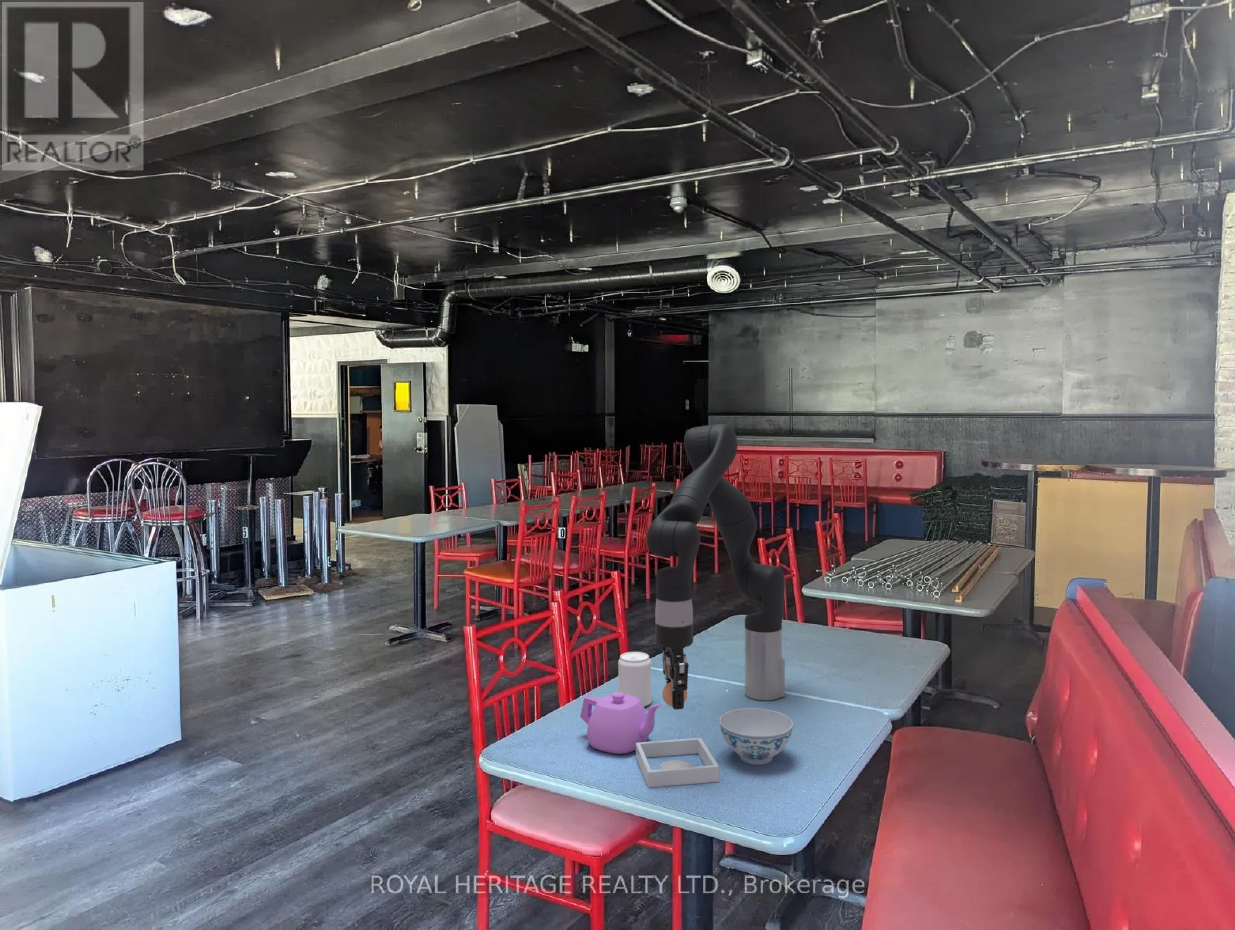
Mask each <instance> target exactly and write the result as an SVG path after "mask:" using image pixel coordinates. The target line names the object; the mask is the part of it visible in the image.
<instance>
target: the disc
mask: <svg viewBox="0 0 1235 930" xmlns="http://www.w3.org/2000/svg"><path fill="white" fill-rule="evenodd" d="M685 767H693V766H692V765H691V763H689V762H687V761H685V760H678V759H676V760H675V759H674V760H667V761H664V762H662V763H660V766H659V770H661V769H673V768H685Z"/></svg>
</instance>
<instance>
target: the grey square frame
mask: <svg viewBox="0 0 1235 930" xmlns="http://www.w3.org/2000/svg"><path fill="white" fill-rule="evenodd" d="M695 754H697V755H699V757H700V759H701V760H702V762H703V764H704V765H699V766H697V765H696V766H692V767H685V768H673V769H661V770H660V769H652V768H651V765H650V764H649V762H648V759H647V758H657V757H669V756H671V757H672V756H681V755H695ZM635 758H636V760H637V763H638V765H639V767H640V771H641V773H642V775H643V778H644V780H645V782H646V786H647V788H659V787H662V788H663V787H672V786H683V785H684V786H685V785H695V784H706V783H707V784H708V783H717V782H720V766H719V764H718V763H717V761H716V760H715V758H714V757H713V755H712V753H711V752H710V750H709V749H708V747H707V745H706V744H705V742H704V740H703V739H702V737H693V738H681V739H680V738H679V739H667V740H653V741H646V742H639V743H636V750H635Z"/></svg>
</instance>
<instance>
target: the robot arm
mask: <svg viewBox="0 0 1235 930" xmlns="http://www.w3.org/2000/svg"><path fill="white" fill-rule="evenodd" d="M737 438H738V437H737V435H736V432H735V430H734V428H733V427H732V426H731V425H729V424H725V423H719V424H718V423H717V424H711V425H710V424H708V425H702V426H696V427H695V426H694V427H691V428H689V429H688V430H687V431H685V434H684V437H683V440H684V441H683V443H684V450H685V454H686V457H687V459H688V461H689V464H690V466H691V468H692V470H693V471H691V473H689V474H688V475H687V476H686V477H685V478H683V480H682V481H681V482H680V483H679V484H678V485H677V487H676V489H675V492H674V494H673V496H672V498H671V500H670V502H669V504H668V505H667V506H666V507H665V508H664V509H663V510H662V511H661V512H660V513H659V514H658V515H657V516H656V517H655V518H654V519H653V520H652V522H651V523H650V525H649V527H648V530H647V532H646V535H645V536H646V539H645V541H646V546H647V548H648V551H650V552H651V553H652V554H653V555H655V556H662V557H675V558H679V560H678V562H677V565H674V566H666V567H663V568H660V569H659V570H658V571H656V576H655V577H656V579H655V582H656V583H655V585H656V592H655V593H656V599H655V600H656V601H655V609H654V611H655V614H654V616H655V643H656V644H657V645H658V646H660V647H661V654H662V656H661V657H662V674H663V675H664V680H665V681H666V683H665V685H666V684H668V683H669V682H671V684H672V687H671V689H672V708H673V710H675V711H676V710H683V709H684V707H685V703H684V690H687V691H688V688H689V687H688V683H689V681H688V680H689V679H688V678H689V667H690V666H689V662H687V654H686V653H684V649H685V648H686V647H690V646H691V645H693V643H694V609H693V608H694V606H693V600H692V599H693V598H692V597H693V596H692V593H693V592H692V583H693V582H692V579H693V570H694V567H695V562H696V558H697V555H698V552H699V548H700V544H701V533H700V530H699V528H698V526H697V525H698V524H699V523H700V521H701V519H702V516H703V513H704V512H705V508H706V506H707V504H708V505H709V506H710V509H711V512H712V514H713V515H712V516H713V519H714V521H715V524H716V526H717V529H718V531H719V533H720V535H721V537H722V541H723V543H724V545H725V548H726V552H727V554H728V557H729V560H730V564H731V568H732V572H733V575H734V581H735V583H736V587H737V589H738V591H739V593H740V595H741V597H743V598H744V599H746V600H750V601H757V602H762V609H761V610H760V611H756V612H751V613H749V614H747V615H746V616H745V618H744V692H745V696H747V697H748V698H750V699H752V700H758V701H774V700H778V699H780V698H785V697H786V694H785V693H786V689H785V688H786V682H785V681H786V677H785V676H786V675H785V672H786V666H785V665H786V662H785V661H786V660H785V658H783V641H782V640H783V635H782V634H783V633H782V631H783V630H782V629H783V628H782V627H783V618H784V610H785V609H784V608H785V591H786V589H785V588H786V580H785V574H784V572H783V569H782V568H781V567H779V566H776V565H771V564H762V563H756V562H755V561H754V559H753V557H752V555H751V553H750V548H751V546H752V543H753V541H754V537H755V535H756V532H757V529H758V525H757V524H758V522H757V519H756V516H755V513H754V510H753V507H752V505H751V503H750V500H749V499H748V497H747V496H746V495H745V494H744V493H743V492H742V491H741V490H740V489H738V488H737V487H736V486H735V485H734V484H732V483H731V482H729V480H727V479H726V478H725V477H724V476H725V474H726V473H727V470H728V469H729V468H730V466H731V465H732V463H733V462H734V460H735V459H736V455H737V450H738V439H737ZM678 682H680V683H681V684H678Z"/></svg>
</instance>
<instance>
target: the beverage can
mask: <svg viewBox="0 0 1235 930" xmlns="http://www.w3.org/2000/svg"><path fill="white" fill-rule="evenodd" d="M617 665H618V667H617V668H618V670H617V672H618V692H621V693H624V694H625V695H629V696H633V697H637V698H639V699H640V701H641V702H642V704H643V706H644V708H645V707H647V706H648V705H650V704H652V660H651V658H650V655H649V654H647V652H646V653H645V652H641V651H628V652H624V653H621V654H620V656H619V659H618V661H617Z"/></svg>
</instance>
